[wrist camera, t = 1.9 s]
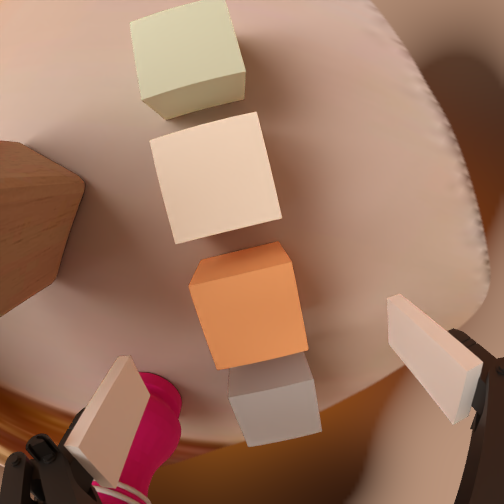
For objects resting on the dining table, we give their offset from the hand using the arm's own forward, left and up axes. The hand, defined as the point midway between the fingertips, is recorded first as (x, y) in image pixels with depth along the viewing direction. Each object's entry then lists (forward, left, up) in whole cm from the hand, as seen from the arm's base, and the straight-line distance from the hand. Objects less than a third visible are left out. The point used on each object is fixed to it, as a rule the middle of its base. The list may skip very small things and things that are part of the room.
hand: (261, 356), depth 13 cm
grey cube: (0, -8, -10) cm, 13 cm away
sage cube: (0, +17, -10) cm, 20 cm away
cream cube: (0, +9, -10) cm, 13 cm away
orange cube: (0, 0, -10) cm, 10 cm away
